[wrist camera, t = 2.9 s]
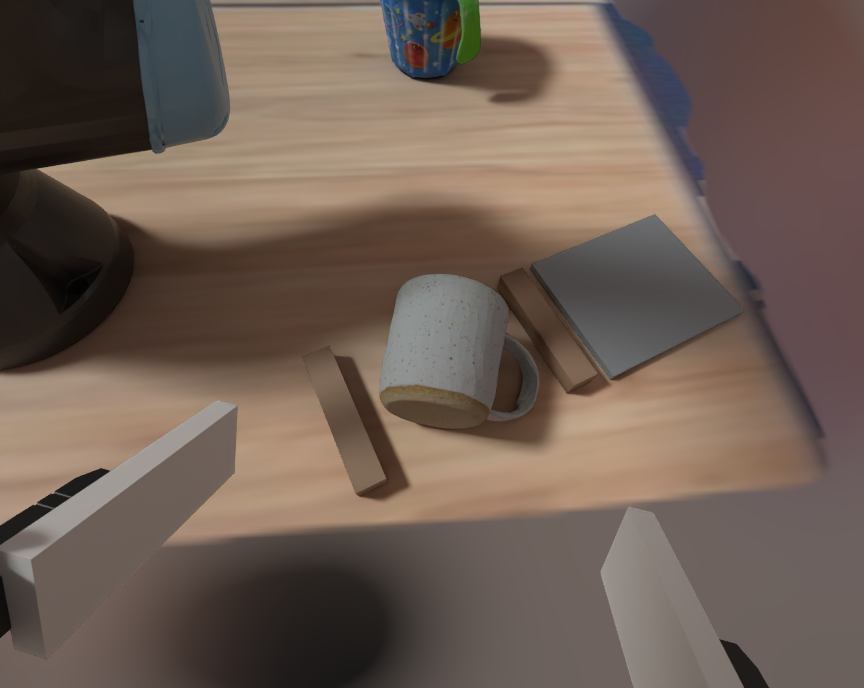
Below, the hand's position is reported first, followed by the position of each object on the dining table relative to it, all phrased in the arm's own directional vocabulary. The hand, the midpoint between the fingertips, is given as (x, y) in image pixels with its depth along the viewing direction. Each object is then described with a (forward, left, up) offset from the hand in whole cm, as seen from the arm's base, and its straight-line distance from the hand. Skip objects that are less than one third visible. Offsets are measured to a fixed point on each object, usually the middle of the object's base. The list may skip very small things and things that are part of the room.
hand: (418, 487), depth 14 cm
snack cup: (-43, +21, -14) cm, 50 cm away
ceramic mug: (-7, +7, -14) cm, 17 cm away
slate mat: (-8, +23, -14) cm, 28 cm away
